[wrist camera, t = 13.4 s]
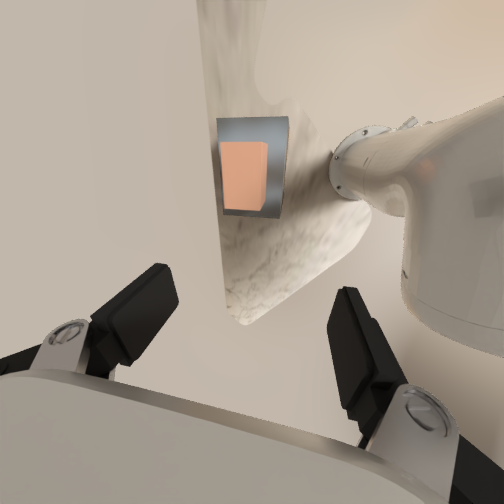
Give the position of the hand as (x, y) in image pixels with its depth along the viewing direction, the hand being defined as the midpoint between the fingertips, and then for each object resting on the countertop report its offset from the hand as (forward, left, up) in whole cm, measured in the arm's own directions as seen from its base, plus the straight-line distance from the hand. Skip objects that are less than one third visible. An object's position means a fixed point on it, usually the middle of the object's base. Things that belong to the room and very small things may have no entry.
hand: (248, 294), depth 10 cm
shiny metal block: (0, -6, -34) cm, 35 cm away
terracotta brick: (0, -6, -22) cm, 23 cm away
